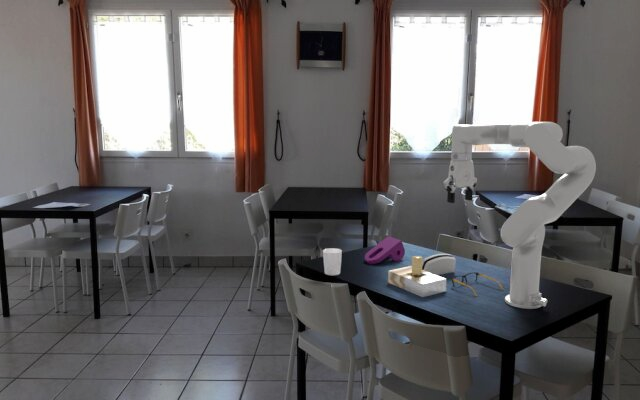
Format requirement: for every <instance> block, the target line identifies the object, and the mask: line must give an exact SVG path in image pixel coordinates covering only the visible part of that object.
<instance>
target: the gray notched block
mask: <svg viewBox="0 0 640 400" xmlns="http://www.w3.org/2000/svg"><path fill="white" fill-rule="evenodd" d="M405 291H407V292H409V293H411V294H414V295H417V296H419V297H421V298H425V297H429V296H433V295H437V294H441V293H444V292H447V278H445V277H442V276H440V275H435V274H432V273H429V272H426V273H422V277H418V278H415V277H412V276H408V277H405Z"/></svg>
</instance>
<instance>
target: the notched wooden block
mask: <svg viewBox="0 0 640 400" xmlns="http://www.w3.org/2000/svg"><path fill="white" fill-rule="evenodd" d="M387 272H388V276H387V284H390V285H392V286H395V287H396V288H400V289H402V290H405V277H408V276H412V265H408V266H405V267H400V268H394V269H390V270H388V271H387ZM426 272H427V271H424V270H422V273H426ZM405 291H406V290H405Z"/></svg>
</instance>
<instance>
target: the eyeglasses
mask: <svg viewBox="0 0 640 400" xmlns="http://www.w3.org/2000/svg"><path fill="white" fill-rule="evenodd" d="M471 274H472V275H473V272H469V273H467V274H463V275H460V277H461V281H460V280H458V279H455V278H457V277H459V275H455V276H453V277H451V282H452V285H453V287H456V285H455V283H459V284H460V285H463V286H465V287H468V288H469V289H471V291H473V293H474V296H475V297H477V298H478V297H479V296H478V295H477V293H476V291H475V289H473V287H472V286H470V285H467V284H466V283H468V279H467V276H468V275H471ZM474 274H475V278H476V279H475V280H474V282H477V281H478V276H480V277H482V278H483V277H484V278H487V279H489V280H491V281H495V282H497V283H498V285H499V287H500V288H501V290H502V291H505V289H504V288H503V286H502V285H501V283H500V282H499V281H498V280H496V279H494V278H492V277H489V276H487V275H485V274H482V273H480V272H474ZM464 279H465V280H464ZM464 281H465V282H466V283H464Z"/></svg>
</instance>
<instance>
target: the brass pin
mask: <svg viewBox="0 0 640 400" xmlns="http://www.w3.org/2000/svg"><path fill="white" fill-rule="evenodd" d="M422 261H423V256H421V255H413V256H411V266H412V277H415V278H418V277H422Z"/></svg>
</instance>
